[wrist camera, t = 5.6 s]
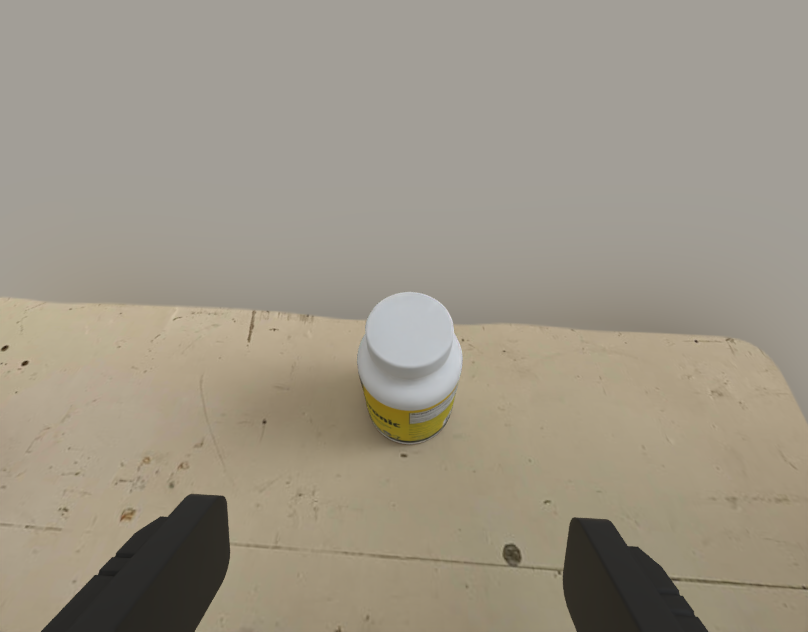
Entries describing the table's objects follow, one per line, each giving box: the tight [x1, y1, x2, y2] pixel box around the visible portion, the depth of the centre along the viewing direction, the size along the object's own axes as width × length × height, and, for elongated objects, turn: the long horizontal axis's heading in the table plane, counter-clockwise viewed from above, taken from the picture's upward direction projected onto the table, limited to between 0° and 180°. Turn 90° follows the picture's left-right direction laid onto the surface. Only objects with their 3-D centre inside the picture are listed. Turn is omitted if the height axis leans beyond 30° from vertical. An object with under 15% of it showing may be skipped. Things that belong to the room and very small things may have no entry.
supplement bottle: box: [357, 292, 463, 444], centre depth 22 cm, size 5×5×10 cm
